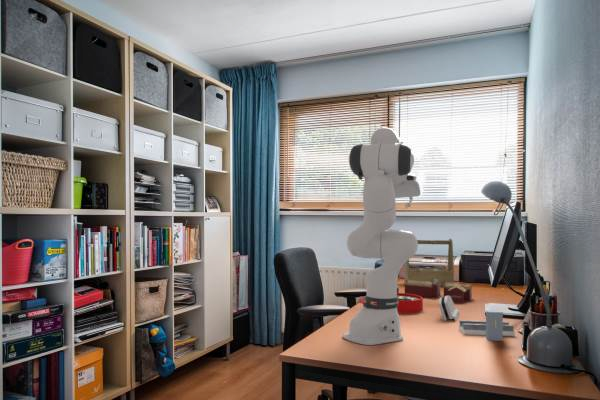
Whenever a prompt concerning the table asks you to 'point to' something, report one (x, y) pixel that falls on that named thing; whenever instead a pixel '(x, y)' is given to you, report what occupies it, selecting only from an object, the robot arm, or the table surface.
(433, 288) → the toy houses
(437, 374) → the table surface
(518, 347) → the table surface
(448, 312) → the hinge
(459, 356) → the table surface
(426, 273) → the caddy
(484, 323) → the track base
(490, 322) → the door panel
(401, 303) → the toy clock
